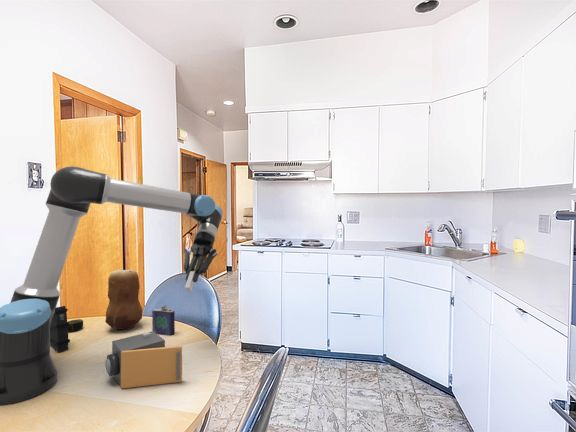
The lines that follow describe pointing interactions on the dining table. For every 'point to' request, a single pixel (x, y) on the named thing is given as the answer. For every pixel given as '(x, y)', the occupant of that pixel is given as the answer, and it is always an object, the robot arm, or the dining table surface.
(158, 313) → the flask
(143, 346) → the block
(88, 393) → the dining table surface
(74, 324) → the tape measure
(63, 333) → the black upright slab
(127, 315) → the butternut squash
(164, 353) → the side door
